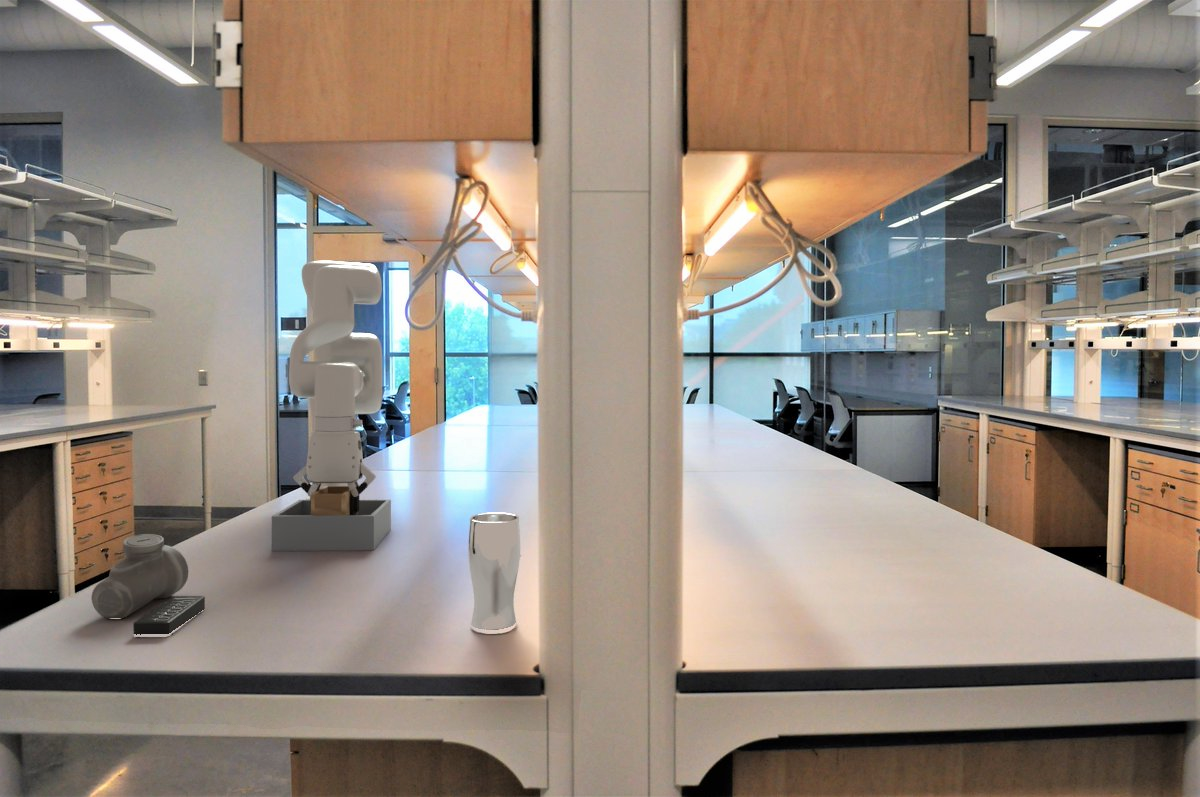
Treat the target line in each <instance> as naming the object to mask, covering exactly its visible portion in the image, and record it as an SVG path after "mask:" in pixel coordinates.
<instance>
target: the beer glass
mask: <svg viewBox="0 0 1200 797" xmlns="http://www.w3.org/2000/svg"><path fill="white" fill-rule="evenodd" d="M469 519H470V520H469V521H470V522H469V530H468V545H467V546H468V548H467V550H468V552H467V553H468V554H467V555H468V557H467V558H468V565H469V572H470V573H469V574H470V580H471V583H472V584H471V585H472V589H473V590H472V591H473V600H474V601H473V602H474V603H473V612H472V618H471V622H470V626H471V625H472V626H473V627H475V628H478V629H484V630H485V629H486V630H499V629H504V628H508V627H511V626H513V625H514V624H515V623H516V624H517V619H516V614H515V605H514V603H515V602H514V601H515V600H514V598H515V592H516V591H515V590H516V585H517V584H516V583H517V579H518V573H519V567H520V562H521V561H520V560H521V531H520V530H521V529H520V516H518V515H517V514H514V513H507V512H484V513H477V514H474V515H471V516H470V518H469Z"/></svg>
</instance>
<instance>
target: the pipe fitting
mask: <svg viewBox="0 0 1200 797" xmlns="http://www.w3.org/2000/svg"><path fill="white" fill-rule="evenodd" d="M164 541H165V538H164V537H163V536H162V535H159V534H155V533H154V534H153V533H152V534H151V533H144V534H136V535H132V536H130V537H127V538H125V539H124V540H123V541H122V551H124V559H122V560H120V561H119V562H117V563H115V564H113V565H112V566H111V568H110V570H109V575H108V577H106V578H104V579H103V580H101V581H100V582H98V583H97V584H96V585H95V587H94V588H93V590H92V592H91V598H90V599H91V604H92V606H93V608H94V610H95V611H96V612H97V614H99V615H100V616H101V617H103V618H105V617H106V618H105V619H107V618H123V619H125V618H127V617H128V616H130V615H132V614H134V613H135V612H136V611H137V610H139V609H140V608H142V607H143V606H145V605H146V604H149V602H151V601H153V600H159V599H158V598H163V599H166V598H169V597H171V596H173V595H174V594H176V593H178V592H179V591H180V590H182V589H183V587H185V585H186V583H187V581H188V578H189V566H188V564H187V562H188V561H186V559H185V557H184V556H183V554H182V553H181V552H180V551H179V550H178V549H176V548H174V547H172V546H171V545H166V544H164V543H165V542H164ZM154 598H155V599H154ZM124 617H125V618H124Z"/></svg>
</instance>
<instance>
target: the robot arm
mask: <svg viewBox="0 0 1200 797" xmlns="http://www.w3.org/2000/svg"><path fill="white" fill-rule="evenodd" d="M301 281H302V284H303V286H302V287H303V288H304V291H305V294H306V296H307V299H308V301H309V303H310V306H311V309H312V322H311V323H309V324H308V325H307V326H305V328H304V329H303V330H302V331H300V333H299V334H298V335H297V336H296V337H295V339H294V341H293V343H292V345H291V348H290V351H289V353H290V354H289V371H288V381H289V382H288V383H289V387H290V391H291V392H292V394H293V395H294V396H295V397H298V398H300V399H308V401H309V408H310V415H311V416H310V417H311V430H312V431H311V433H310V437H309V441H308V449H307V457H306V464H305V465H304V466H303V467H302V468H301V469H299V471H298V472H297V473H296V474H294V475H293V477H292V478H293V480H294V481H295V482H296V484H298V485H299V487H300V488H301V489H302V490H303V491H304V492H305V493H306V494H307V495H308V496H307V497H306V498H305V500H310V512H311V494H312V493H314V492H316V491H317V490H319V489H321V488H323V487H324V486H348V487H349V489H350V491H351V497H350V515H356V514H357V512H359V500H360V495H361V494H362V493H363V492H364V490H366V489H367V488H368V487H369V486H370V485H371V484H372V483H373V482H374V481H375V480H376V478H377V475H375V473H374V472H373V471H371V469H369V468H368V467H367V466H366V465H365V464H364V458H363V447H362V440H361V434H360V432H359V431H356V430H357V428H359V427H363V420H362V419H358V418H357V416H356V415H370V414H375V413H377V412H379V411H380V409H381V407H382V403H383V402H382V401H383V349H382V343H381V341H380V338H379V337H378V336H377V335H376V334H373V333H368V332H367V333H365V332H353V331H354V328H355V305H356V304H357V305H377V304H378V303H379V302H380V300H381V297H382V291H383V286H382V284H383V282H382V278H381V274H380V271H379V269H378V268H377V266H376V265H375V264H372V263H363V262H349V261H338V260H337V261H334V260H314V261H309V262H307V263H305V264H303V266H302V269H301ZM312 351H313V352H314V360H315V361H312V360H311V361H305V358H306V356H307V355H308V354H309V353H311V352H312ZM305 476H306V479H307V480H306V479H305ZM363 477H365V480H363V481H362V483H361V484H359V482H358V480H361V479H362V478H363Z"/></svg>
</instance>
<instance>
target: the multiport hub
mask: <svg viewBox="0 0 1200 797" xmlns="http://www.w3.org/2000/svg"><path fill="white" fill-rule="evenodd" d="M205 599H206V596H204V595H177V596H172V597H170V598H169V599H168V600H165V601H164V602H163V603H161V604H160V605H158V606H157V607H155V608H154V609H152V610H151V611H149V612H148V613H146V614H145V615H142V616H141V617H139V619H136V620H135V621H134V622H133V624H132V625H133V633H132V634H136V635H137V634H140V635H141V634H169V633H171V632H172V631H173V630H175V629H176V628H178V627H179V626H181V625H182V624H184V623H185V622H186V621H188V620H189V619H191V618H192V617H194V616H195V615H197V614H198V613H199V612H201V611H202V610H204V609H205V608H206V607H205V606H206V604H205V603H206V600H205ZM205 610H206V609H205ZM205 610H204V611H205Z"/></svg>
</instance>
